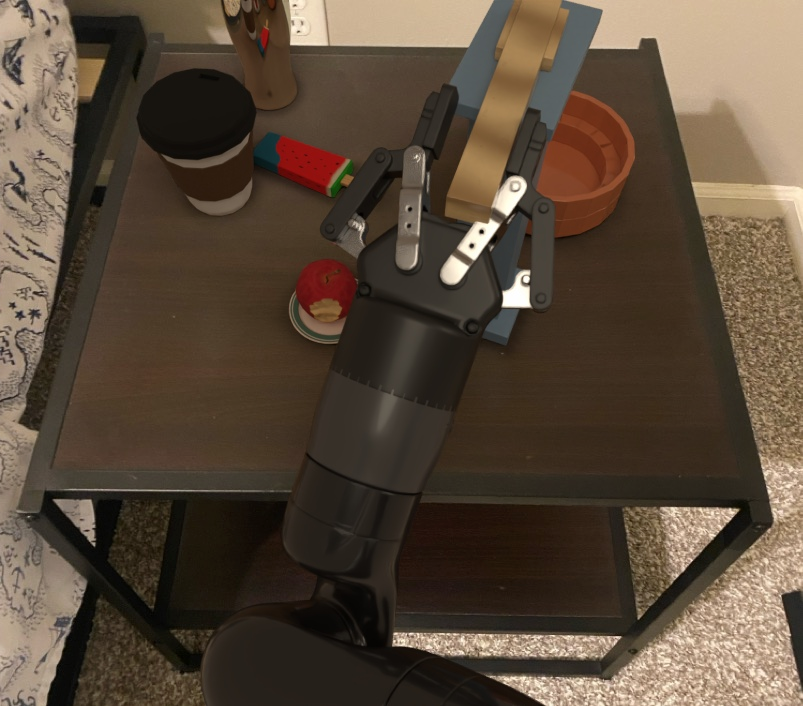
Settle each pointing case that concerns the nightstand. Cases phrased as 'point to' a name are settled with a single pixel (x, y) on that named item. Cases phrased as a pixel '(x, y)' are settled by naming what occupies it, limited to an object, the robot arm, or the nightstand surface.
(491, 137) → the stick
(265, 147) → the popsicle
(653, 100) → the nightstand surface
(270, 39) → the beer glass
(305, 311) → the apple
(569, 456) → the nightstand surface
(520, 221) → the stand
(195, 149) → the coffee cup
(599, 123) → the bowl
